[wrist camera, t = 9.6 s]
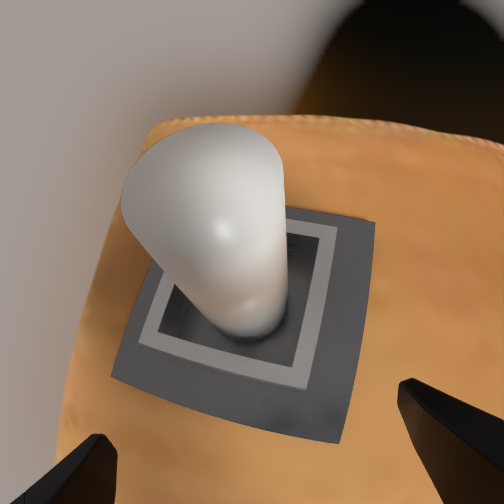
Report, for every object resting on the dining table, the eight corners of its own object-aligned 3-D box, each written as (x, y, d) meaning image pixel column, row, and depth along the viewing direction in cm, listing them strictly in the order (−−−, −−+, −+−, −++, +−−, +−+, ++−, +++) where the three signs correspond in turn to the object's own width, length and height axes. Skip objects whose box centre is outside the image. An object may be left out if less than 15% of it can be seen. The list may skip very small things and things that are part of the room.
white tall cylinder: (263, 356, 19) (224, 285, 8) (192, 317, 21) (92, 215, 10) (302, 283, 21) (310, 145, 10) (232, 252, 23) (182, 112, 12)
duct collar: (336, 442, 17) (347, 451, 13) (117, 378, 20) (86, 370, 17) (372, 229, 23) (383, 198, 20) (185, 199, 27) (171, 169, 23)
